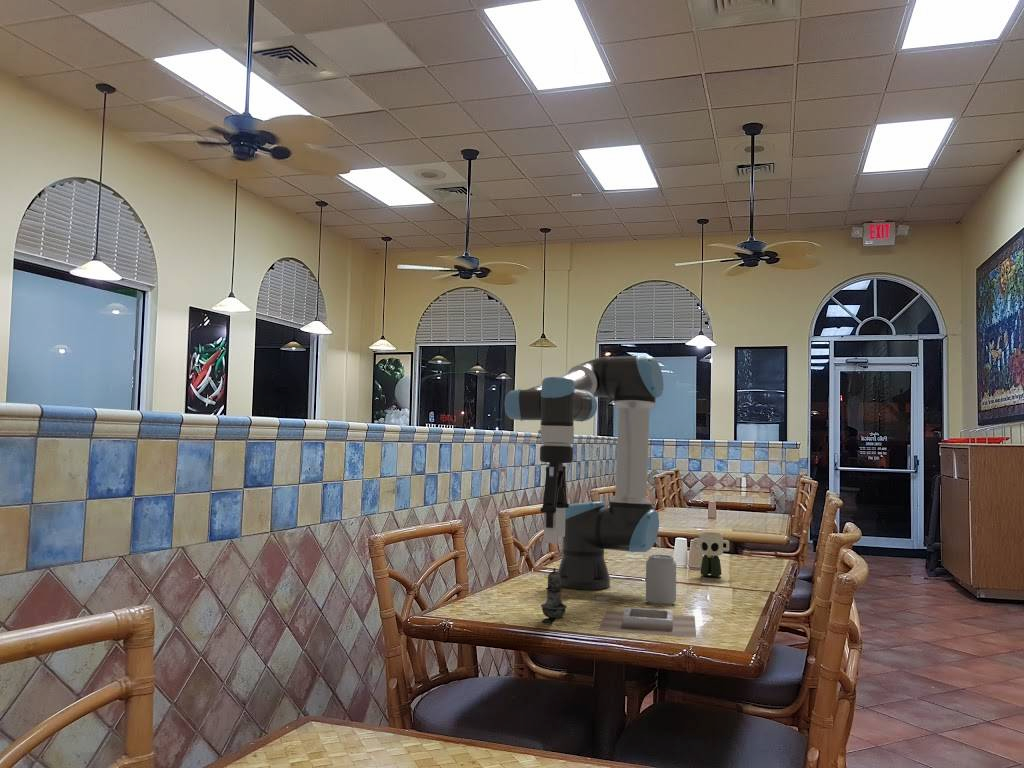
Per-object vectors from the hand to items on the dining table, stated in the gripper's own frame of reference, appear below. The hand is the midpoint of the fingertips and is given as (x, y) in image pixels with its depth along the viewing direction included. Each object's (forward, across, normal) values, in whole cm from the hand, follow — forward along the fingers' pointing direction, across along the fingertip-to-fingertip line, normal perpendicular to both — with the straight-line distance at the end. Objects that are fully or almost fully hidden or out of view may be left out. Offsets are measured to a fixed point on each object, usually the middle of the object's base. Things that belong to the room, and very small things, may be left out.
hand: (554, 539), depth 180 cm
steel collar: (+17, 0, +21) cm, 27 cm away
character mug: (+18, -74, +37) cm, 85 cm away
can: (+18, -28, +23) cm, 41 cm away
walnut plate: (+18, 0, +21) cm, 28 cm away
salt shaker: (+18, 0, 0) cm, 19 cm away
